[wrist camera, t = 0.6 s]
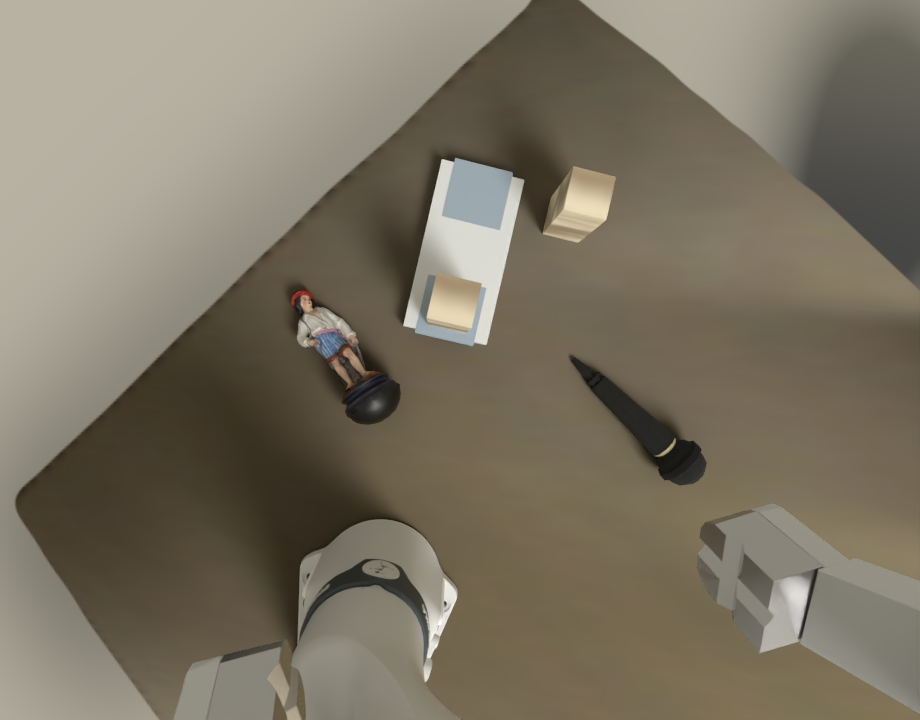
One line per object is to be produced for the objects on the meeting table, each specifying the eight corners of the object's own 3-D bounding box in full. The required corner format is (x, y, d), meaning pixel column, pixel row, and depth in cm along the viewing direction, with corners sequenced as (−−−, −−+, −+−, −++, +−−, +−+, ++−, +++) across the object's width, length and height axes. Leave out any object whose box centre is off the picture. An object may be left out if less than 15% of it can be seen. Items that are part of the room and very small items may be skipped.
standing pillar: (465, 333, 58) (471, 328, 49) (427, 324, 58) (426, 317, 48) (473, 296, 59) (481, 283, 49) (436, 287, 58) (436, 272, 48)
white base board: (484, 349, 60) (485, 349, 59) (403, 330, 60) (402, 329, 58) (523, 180, 60) (525, 175, 59) (442, 160, 60) (442, 154, 58)
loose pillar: (577, 242, 61) (606, 219, 51) (542, 233, 61) (563, 209, 51) (586, 206, 61) (615, 177, 51) (550, 197, 61) (573, 166, 51)
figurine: (351, 435, 52) (270, 289, 53) (351, 440, 58) (279, 308, 60) (414, 401, 54) (334, 260, 56) (407, 408, 60) (336, 282, 62)
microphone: (558, 371, 64) (675, 483, 62) (556, 379, 58) (683, 502, 57) (589, 341, 62) (710, 454, 61) (589, 346, 57) (722, 471, 55)
